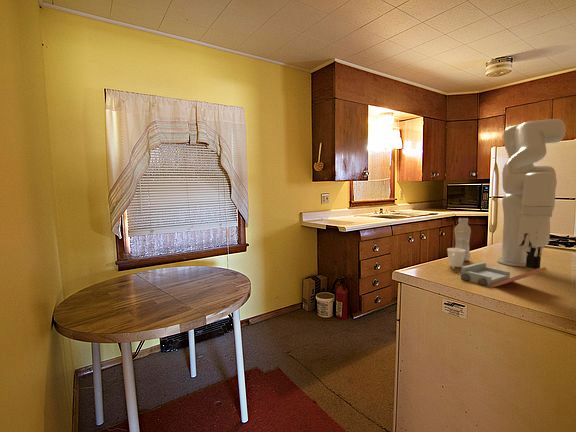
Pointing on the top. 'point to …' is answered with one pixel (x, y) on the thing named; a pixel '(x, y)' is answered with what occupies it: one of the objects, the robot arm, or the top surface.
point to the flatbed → (483, 274)
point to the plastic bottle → (463, 237)
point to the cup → (456, 257)
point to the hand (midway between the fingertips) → (532, 267)
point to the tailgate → (519, 277)
